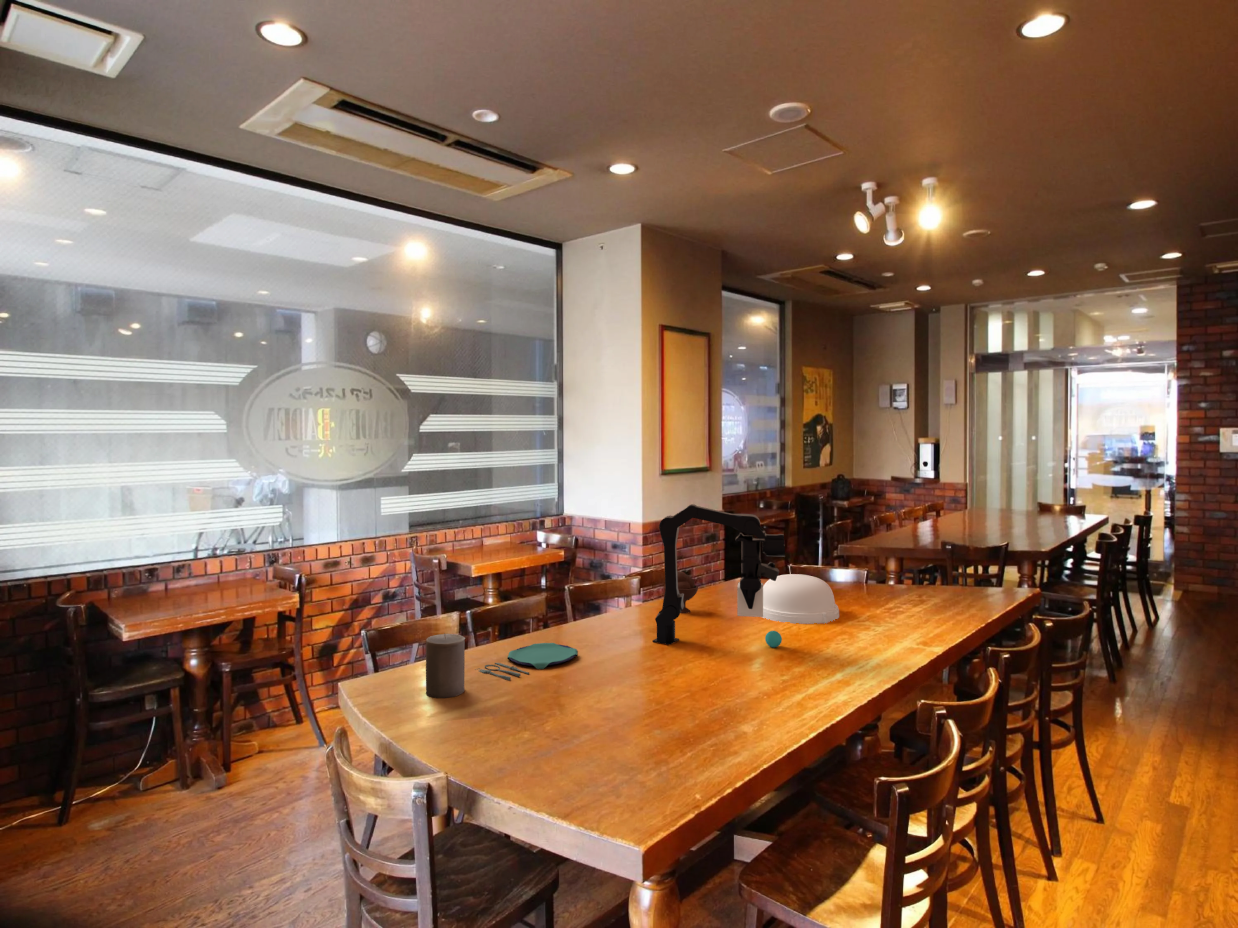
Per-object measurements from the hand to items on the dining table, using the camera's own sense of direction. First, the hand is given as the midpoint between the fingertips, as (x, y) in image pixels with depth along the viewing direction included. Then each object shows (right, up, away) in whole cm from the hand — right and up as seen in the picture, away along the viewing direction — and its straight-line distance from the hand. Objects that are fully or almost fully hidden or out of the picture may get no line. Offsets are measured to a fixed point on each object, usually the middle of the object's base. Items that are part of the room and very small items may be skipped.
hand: (750, 605), depth 226 cm
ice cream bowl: (-17, -11, +45) cm, 49 cm away
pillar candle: (-85, -14, -40) cm, 95 cm away
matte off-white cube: (0, -2, 0) cm, 2 cm away
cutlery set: (-67, -14, -15) cm, 70 cm away
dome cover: (+24, -11, +42) cm, 50 cm away
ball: (+7, -10, -1) cm, 12 cm away
